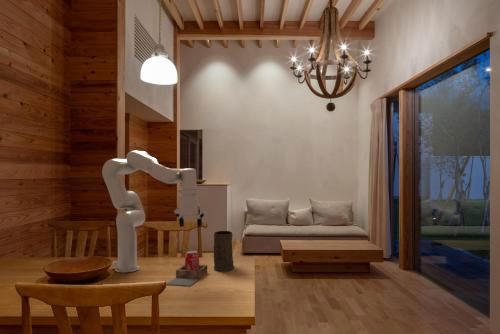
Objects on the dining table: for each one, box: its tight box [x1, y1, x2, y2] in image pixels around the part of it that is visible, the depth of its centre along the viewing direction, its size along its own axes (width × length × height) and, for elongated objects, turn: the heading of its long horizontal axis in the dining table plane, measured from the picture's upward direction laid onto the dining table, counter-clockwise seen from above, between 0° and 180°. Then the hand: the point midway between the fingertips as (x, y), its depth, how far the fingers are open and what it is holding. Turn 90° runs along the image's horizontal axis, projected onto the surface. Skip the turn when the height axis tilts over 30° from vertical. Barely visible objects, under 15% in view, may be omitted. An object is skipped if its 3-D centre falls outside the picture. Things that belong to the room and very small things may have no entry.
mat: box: [166, 277, 199, 288], centre depth 175 cm, size 12×10×1 cm
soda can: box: [184, 250, 200, 271], centre depth 187 cm, size 7×7×12 cm
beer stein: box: [213, 230, 235, 273], centre depth 201 cm, size 15×11×20 cm
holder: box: [175, 264, 208, 281], centre depth 187 cm, size 12×12×4 cm
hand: (190, 226), depth 188 cm, fingers open, 9 cm apart
